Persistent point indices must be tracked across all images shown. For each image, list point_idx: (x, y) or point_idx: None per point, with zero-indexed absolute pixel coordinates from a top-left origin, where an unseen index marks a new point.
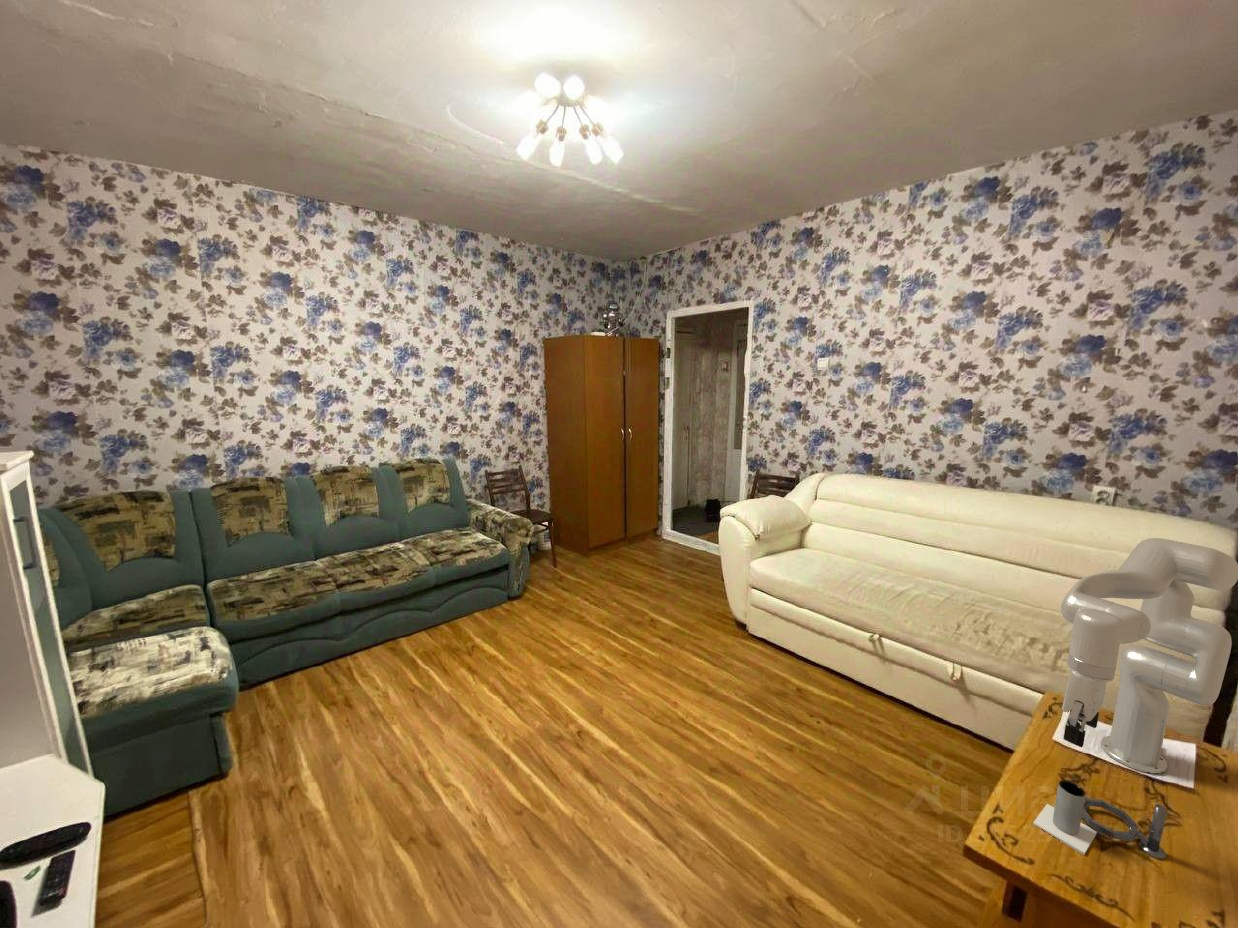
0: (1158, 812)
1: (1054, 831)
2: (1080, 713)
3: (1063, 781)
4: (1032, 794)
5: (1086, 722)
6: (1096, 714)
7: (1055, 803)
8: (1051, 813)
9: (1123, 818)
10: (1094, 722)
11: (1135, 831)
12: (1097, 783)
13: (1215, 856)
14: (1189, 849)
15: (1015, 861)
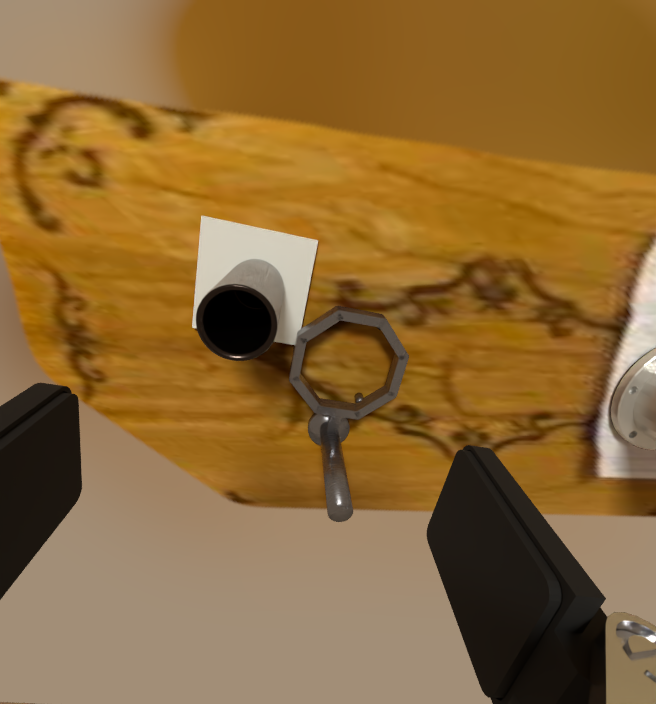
0: (327, 500)
1: (213, 265)
2: (497, 518)
3: (258, 297)
4: (340, 202)
5: (448, 505)
6: (482, 683)
7: (240, 268)
8: (282, 254)
9: (380, 390)
10: (443, 573)
11: (335, 414)
12: (504, 336)
13: (395, 498)
14: (384, 470)
15: (6, 190)
